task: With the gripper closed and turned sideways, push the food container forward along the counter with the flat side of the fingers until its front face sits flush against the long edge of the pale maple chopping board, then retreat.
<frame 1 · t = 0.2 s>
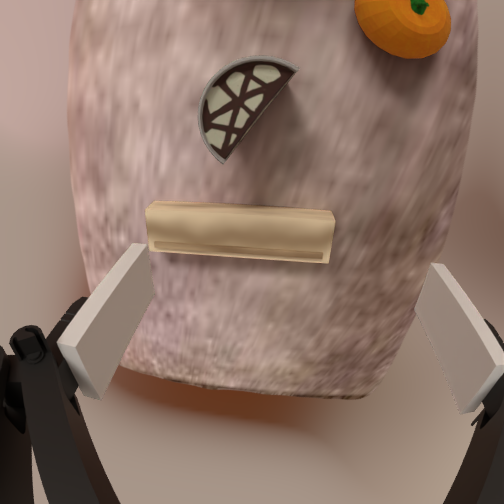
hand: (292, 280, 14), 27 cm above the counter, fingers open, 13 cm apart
board: (239, 225, 43), on the counter
fruit: (392, 19, 28), on the counter
food container: (243, 97, 35), on the counter
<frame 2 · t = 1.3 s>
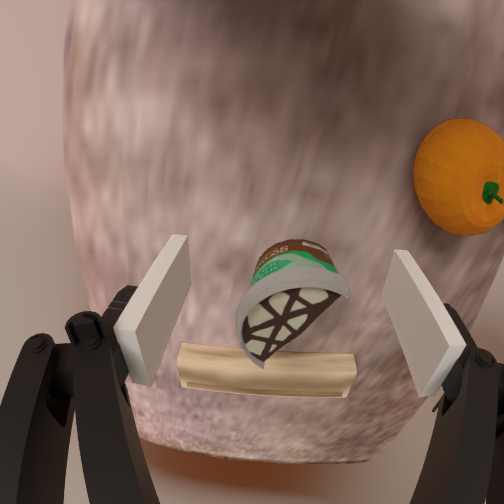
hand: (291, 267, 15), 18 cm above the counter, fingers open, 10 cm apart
board: (267, 364, 43), on the counter
fruit: (448, 167, 28), on the counter
food container: (276, 261, 35), on the counter
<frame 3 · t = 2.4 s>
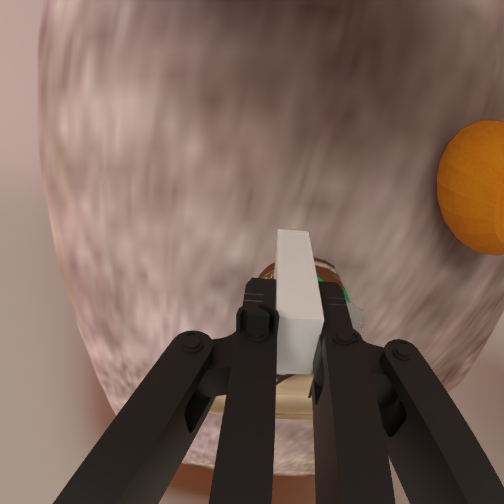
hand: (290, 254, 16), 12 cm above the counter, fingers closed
board: (267, 385, 39), on the counter
fruit: (472, 174, 24), on the counter
food container: (278, 280, 31), on the counter
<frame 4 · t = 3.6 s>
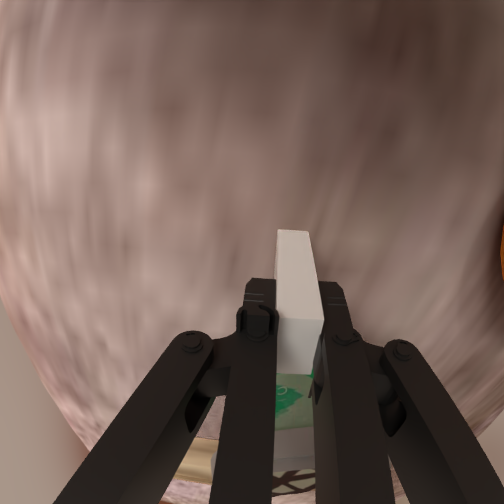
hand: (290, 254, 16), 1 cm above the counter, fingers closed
board: (262, 454, 30), on the counter
food container: (276, 359, 22), on the counter
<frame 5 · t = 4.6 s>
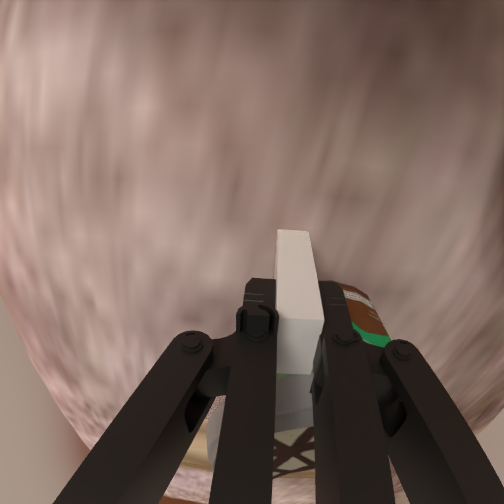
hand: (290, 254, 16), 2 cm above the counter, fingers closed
board: (265, 437, 28), on the counter
food container: (282, 315, 20), on the counter, touching gripper
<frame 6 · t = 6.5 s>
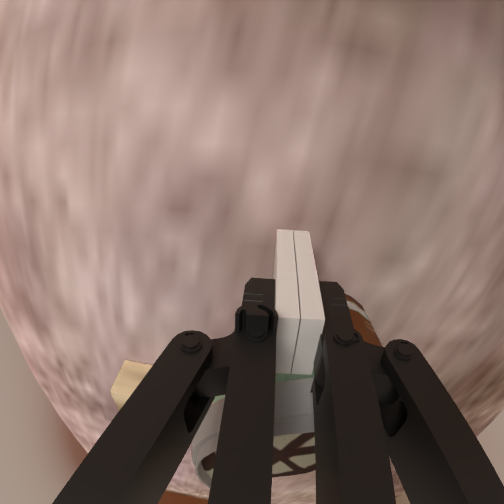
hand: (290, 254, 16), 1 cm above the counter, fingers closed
board: (270, 400, 24), on the counter
food container: (275, 316, 20), on the counter, touching gripper
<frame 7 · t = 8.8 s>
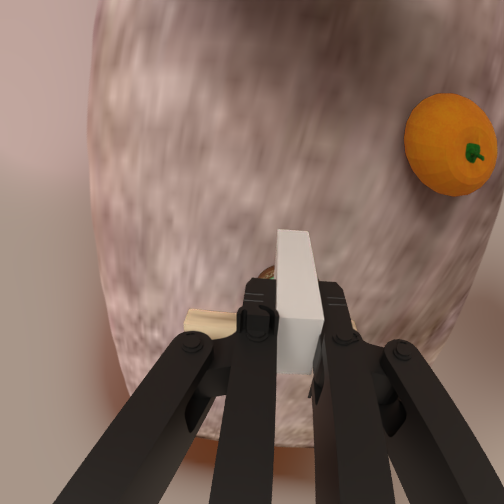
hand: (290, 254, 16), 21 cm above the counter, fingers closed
board: (270, 331, 45), on the counter
fruit: (436, 139, 31), on the counter
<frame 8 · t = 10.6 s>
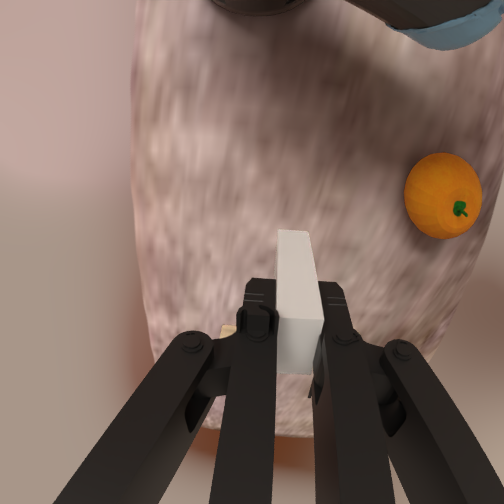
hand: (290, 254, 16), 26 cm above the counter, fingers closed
fruit: (431, 186, 39), on the counter
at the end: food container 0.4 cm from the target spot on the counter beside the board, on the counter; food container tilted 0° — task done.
